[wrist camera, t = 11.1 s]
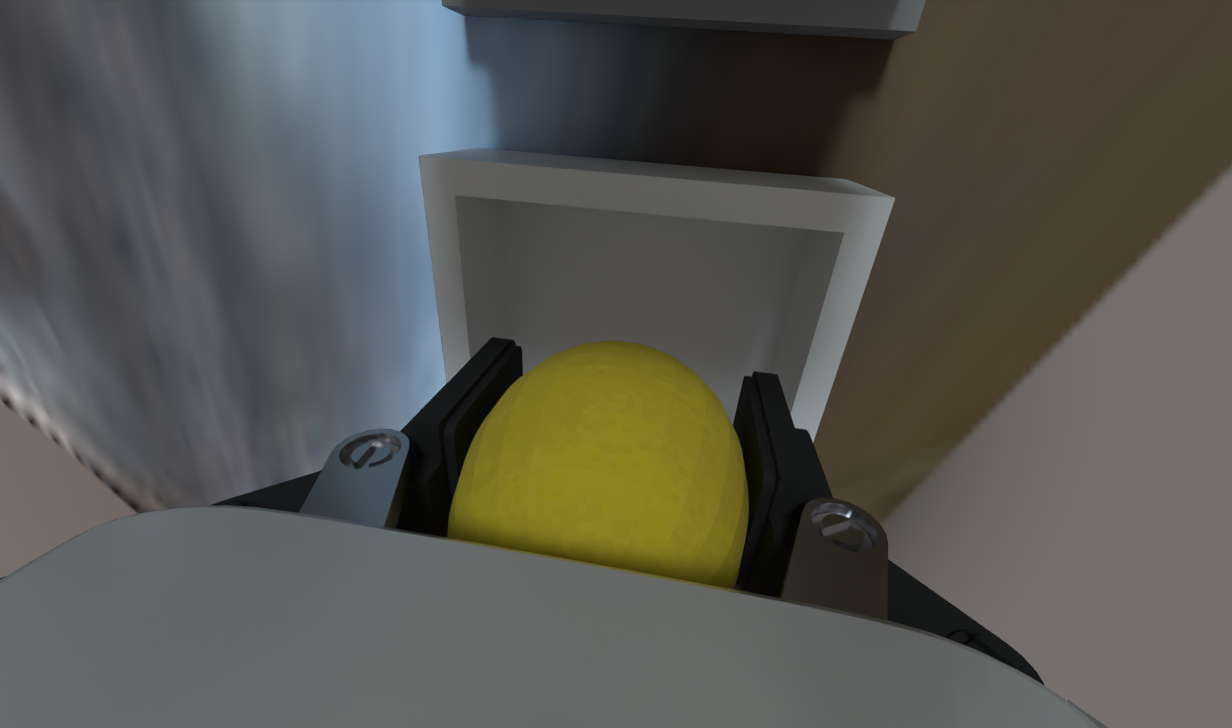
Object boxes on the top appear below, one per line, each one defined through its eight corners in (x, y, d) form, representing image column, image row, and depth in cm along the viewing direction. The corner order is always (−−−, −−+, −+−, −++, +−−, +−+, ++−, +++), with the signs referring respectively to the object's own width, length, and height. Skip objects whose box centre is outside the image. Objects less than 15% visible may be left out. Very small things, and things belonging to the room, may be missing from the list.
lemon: (717, 274, 11) (750, 529, 4) (744, 458, 13) (796, 827, 6) (508, 312, 12) (261, 554, 5) (565, 474, 15) (444, 792, 8)
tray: (498, 434, 19) (460, 495, 16) (479, 147, 14) (418, 156, 11) (763, 473, 18) (777, 546, 15) (846, 179, 13) (895, 198, 10)
